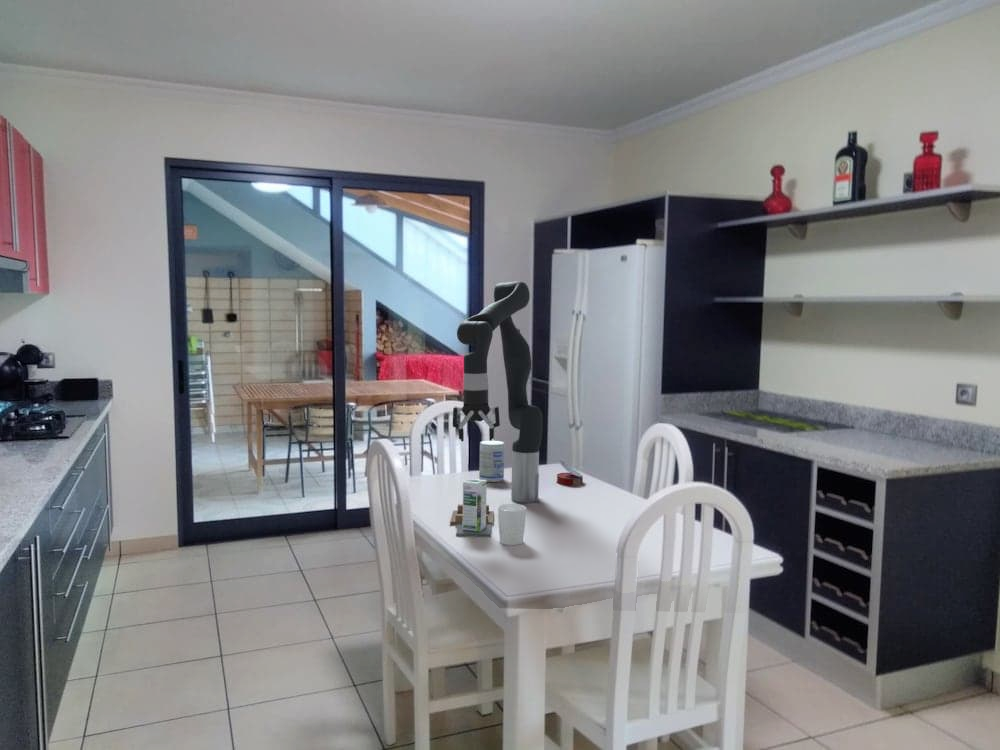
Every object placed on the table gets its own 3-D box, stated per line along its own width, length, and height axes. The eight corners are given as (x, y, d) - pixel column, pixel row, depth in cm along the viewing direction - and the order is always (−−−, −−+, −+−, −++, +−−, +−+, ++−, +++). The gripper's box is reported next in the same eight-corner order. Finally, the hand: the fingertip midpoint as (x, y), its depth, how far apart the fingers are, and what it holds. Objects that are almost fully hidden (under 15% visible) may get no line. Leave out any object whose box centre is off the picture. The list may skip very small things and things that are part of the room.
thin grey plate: (491, 526, 220) (491, 523, 220) (490, 536, 210) (490, 534, 210) (458, 525, 220) (458, 523, 220) (456, 536, 211) (456, 533, 210)
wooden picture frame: (493, 514, 234) (493, 505, 233) (492, 525, 221) (493, 516, 221) (453, 513, 234) (453, 504, 233) (450, 524, 221) (450, 515, 221)
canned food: (565, 491, 284) (572, 467, 287) (585, 493, 276) (591, 469, 279) (547, 481, 277) (554, 457, 280) (566, 484, 269) (573, 458, 272)
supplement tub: (497, 484, 274) (498, 445, 273) (474, 481, 278) (475, 443, 276) (507, 478, 283) (508, 441, 281) (485, 476, 287) (486, 439, 285)
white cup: (498, 537, 211) (498, 503, 210) (525, 537, 210) (526, 504, 209) (497, 545, 203) (497, 510, 202) (525, 546, 202) (526, 511, 202)
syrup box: (461, 530, 214) (462, 481, 212) (468, 524, 219) (469, 477, 218) (479, 532, 212) (480, 483, 210) (486, 526, 217) (487, 479, 216)
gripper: (498, 385, 223) (499, 437, 225) (452, 386, 222) (453, 438, 224) (499, 389, 215) (500, 442, 217) (451, 389, 215) (452, 443, 217)
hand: (476, 440), depth 221 cm, fingers open, 8 cm apart
